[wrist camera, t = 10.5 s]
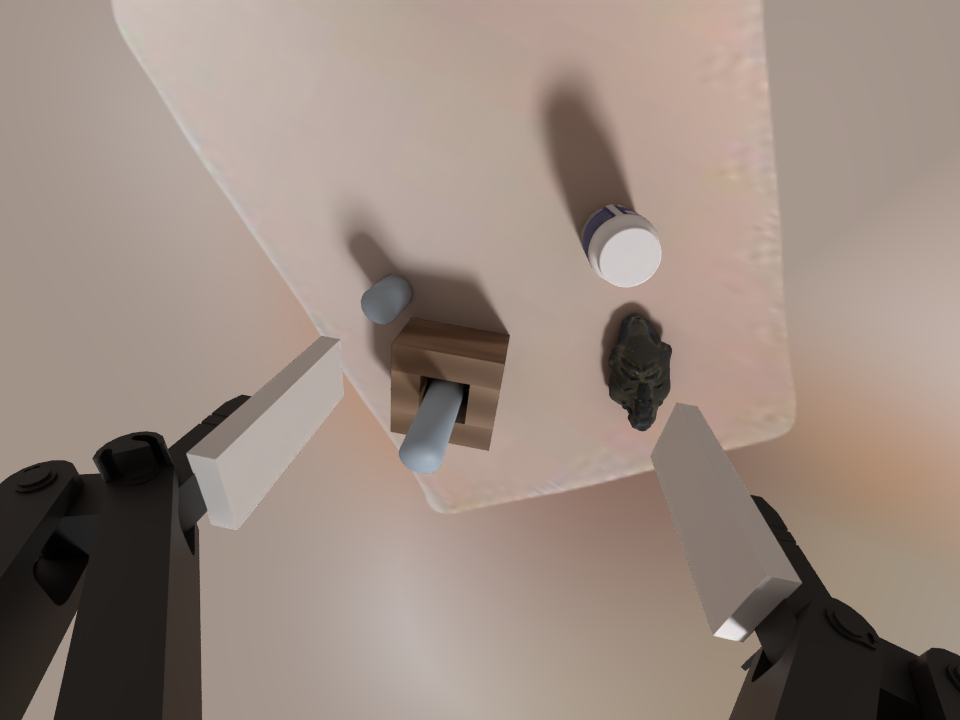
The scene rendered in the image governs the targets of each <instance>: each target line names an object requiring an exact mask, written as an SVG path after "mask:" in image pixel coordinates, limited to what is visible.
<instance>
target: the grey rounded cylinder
mask: <svg viewBox="0 0 960 720" xmlns="http://www.w3.org/2000/svg"><path fill="white" fill-rule="evenodd" d="M411 299H412V289H411V286H410V284H409V283H408V282H407V280H405V279H404V278H403V277H401V276H398V275H388V276H386V277H385V278H383V279H382V280H381V281H379V282H378V283H377V284H375V285H374V286H373V287H371V288H370V289H369V290H367V291H366V292H365V293H364V294H363V296H362V299H361V307H362V310H363V312H364V314H365V315H366V316H367V317H368V318H369V319H370V320H371V321H373V322H375V323H378V324H387V323H390V322H392V321H393V320H394V319H395V318H396V317H397V316H398V314H399V313H400V312H401V311H402V310H403V309H404V308H405V307H406V306H407V305H408V304H409V303H410V301H411Z"/></svg>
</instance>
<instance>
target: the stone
mask: <svg viewBox="0 0 960 720" xmlns="http://www.w3.org/2000/svg"><path fill="white" fill-rule="evenodd" d="M671 354H672V348H671V346H670V345H668V344H666V343H664V342H662V341H661V339H660V337H659V335H658V333H657V332H656V330H655V329H654V327H653V326H652V325H651V323H650V322H649V321H648V320H646V319H644V318H643V317H642V316H640V315H638V314H636V313H633V314H631V315H630V316H628V317H627V318H626V319H624V321H623V323H622V326H621V329H620V333H619V337H618V344H617V346H616V347H615V348H614V349H613V350H612V352H611V355H610V358H609V365H610V366H611V368H612V370H611V374H610V377H609V396H610V397H611V399H612V400H614V401H615V402H617V403H618V404H620V405H622V407H623V408H624V409H627V411H628V413H629V415H628V420H629V421H630V423H631V425H632V427H633V428H634V429H638V430H639V431H646V430H647V429H648V428H650V427H651V425H652V424H653V423H654V421H655V419H656V413H657V410H658V407H659V406H661V405H662V403H663V400H664V399H665V398H666V397H667V395H668V394H669V391H670V358H671Z"/></svg>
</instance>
